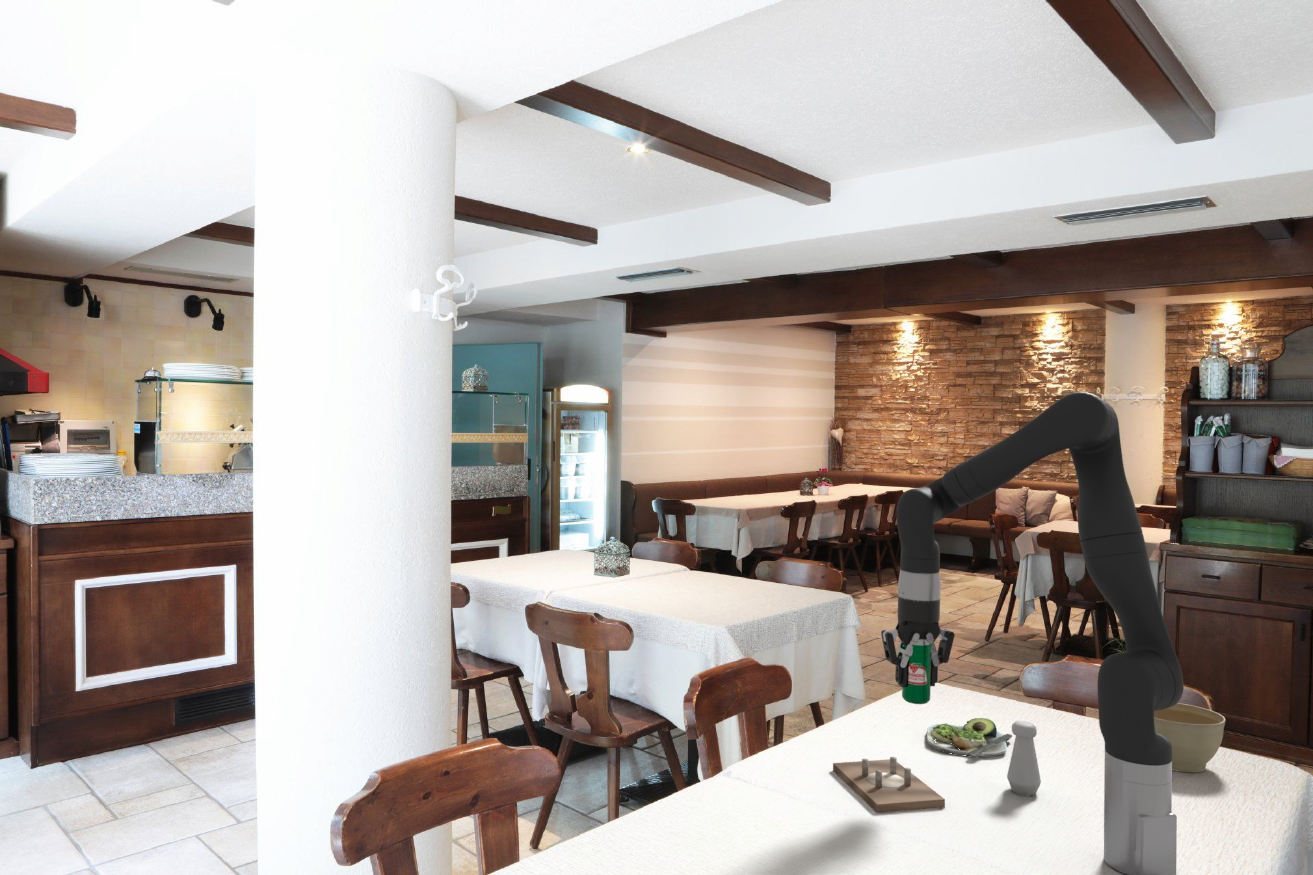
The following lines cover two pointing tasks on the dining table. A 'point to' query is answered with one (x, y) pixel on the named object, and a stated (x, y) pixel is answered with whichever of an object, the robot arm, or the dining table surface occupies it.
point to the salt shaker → (1024, 760)
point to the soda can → (918, 673)
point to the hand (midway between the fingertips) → (916, 685)
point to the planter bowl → (1190, 735)
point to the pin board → (888, 785)
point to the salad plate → (970, 738)
